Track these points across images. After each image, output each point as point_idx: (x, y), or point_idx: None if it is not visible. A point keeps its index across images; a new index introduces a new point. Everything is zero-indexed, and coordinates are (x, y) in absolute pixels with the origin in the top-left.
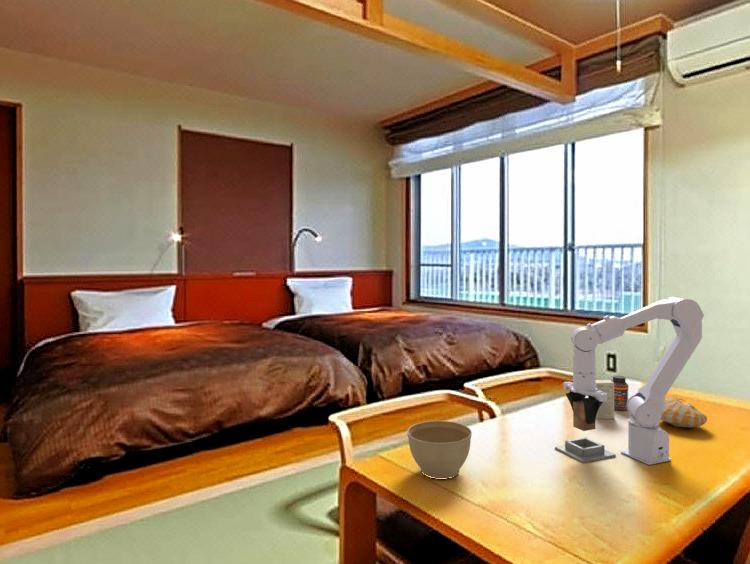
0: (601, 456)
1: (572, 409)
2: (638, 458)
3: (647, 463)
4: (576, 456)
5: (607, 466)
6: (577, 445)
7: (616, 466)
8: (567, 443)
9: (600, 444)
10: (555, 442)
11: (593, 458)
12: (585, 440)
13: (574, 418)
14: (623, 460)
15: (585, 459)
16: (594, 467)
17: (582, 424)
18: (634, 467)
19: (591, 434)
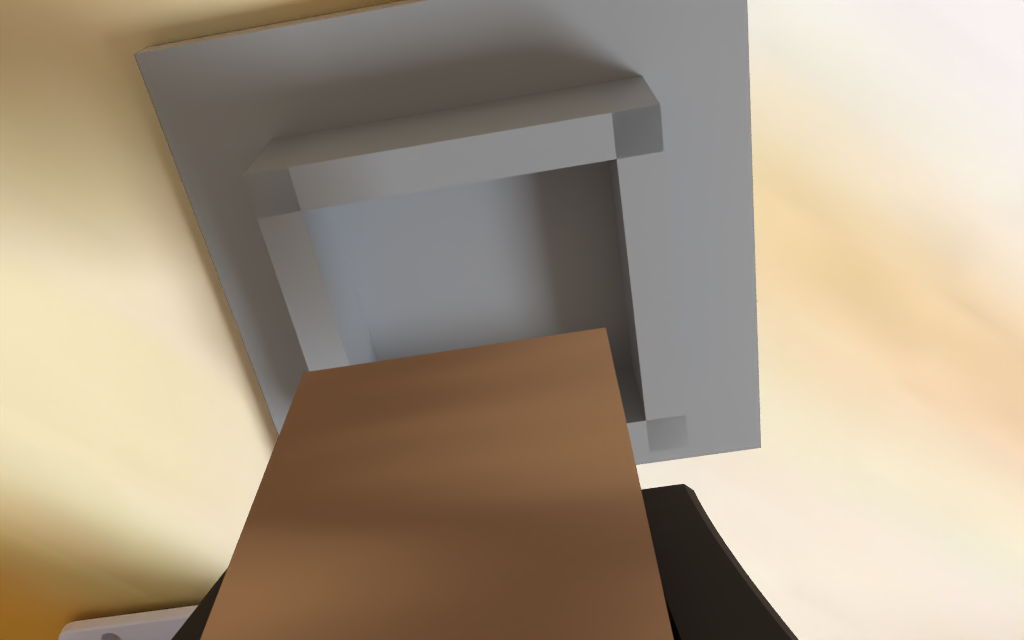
0: (264, 353)
1: (780, 631)
2: (177, 623)
3: (69, 626)
4: (302, 54)
5: (41, 278)
6: (427, 183)
7: (43, 365)
8: (601, 106)
9: None
10: (947, 94)
11: (210, 234)
12: (637, 406)
13: (583, 449)
14: (207, 504)
15: (184, 117)
16: (2, 115)
17: (312, 446)
18: (21, 499)
19: (944, 597)
